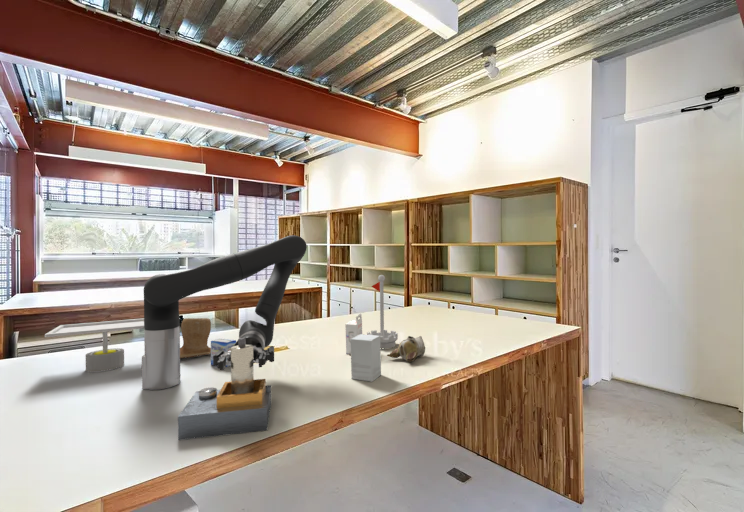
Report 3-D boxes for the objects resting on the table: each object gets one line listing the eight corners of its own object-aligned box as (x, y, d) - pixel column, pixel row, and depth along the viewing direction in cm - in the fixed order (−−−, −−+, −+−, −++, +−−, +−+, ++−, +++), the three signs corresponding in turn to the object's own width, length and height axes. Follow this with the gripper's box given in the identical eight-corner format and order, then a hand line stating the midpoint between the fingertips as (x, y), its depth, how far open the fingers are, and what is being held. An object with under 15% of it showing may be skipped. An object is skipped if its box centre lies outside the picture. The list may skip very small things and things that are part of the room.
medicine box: (210, 365, 127) (209, 340, 126) (220, 361, 131) (219, 337, 131) (227, 367, 124) (227, 342, 124) (236, 363, 128) (236, 339, 128)
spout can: (229, 403, 81) (228, 342, 81) (233, 394, 86) (232, 337, 86) (252, 401, 82) (251, 340, 82) (254, 392, 87) (254, 335, 87)
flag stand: (403, 344, 153) (402, 274, 152) (388, 351, 142) (387, 276, 141) (377, 340, 160) (376, 273, 159) (360, 347, 149) (360, 275, 148)
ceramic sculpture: (432, 333, 133) (407, 343, 122) (433, 356, 133) (409, 368, 122) (409, 330, 140) (384, 339, 129) (410, 351, 140) (385, 362, 130)
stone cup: (211, 349, 147) (211, 313, 147) (215, 356, 137) (215, 317, 136) (169, 355, 139) (169, 317, 139) (170, 363, 129) (169, 322, 129)
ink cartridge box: (351, 348, 147) (350, 312, 147) (362, 348, 146) (362, 313, 146) (345, 354, 138) (344, 316, 138) (357, 354, 137) (357, 316, 137)
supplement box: (381, 374, 114) (381, 335, 114) (372, 382, 108) (371, 340, 108) (361, 371, 117) (360, 333, 117) (350, 379, 111) (349, 338, 111)
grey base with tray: (178, 440, 75) (177, 404, 75) (196, 411, 89) (196, 381, 89) (267, 430, 79) (266, 396, 79) (271, 404, 92) (271, 375, 92)
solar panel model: (45, 382, 110) (44, 334, 110) (61, 367, 126) (60, 324, 125) (150, 368, 124) (149, 325, 124) (153, 355, 139) (152, 317, 139)
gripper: (222, 334, 97) (207, 350, 81) (276, 331, 100) (272, 346, 84) (222, 362, 97) (208, 383, 81) (276, 358, 100) (273, 378, 84)
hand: (241, 364), depth 83 cm, fingers open, 8 cm apart
